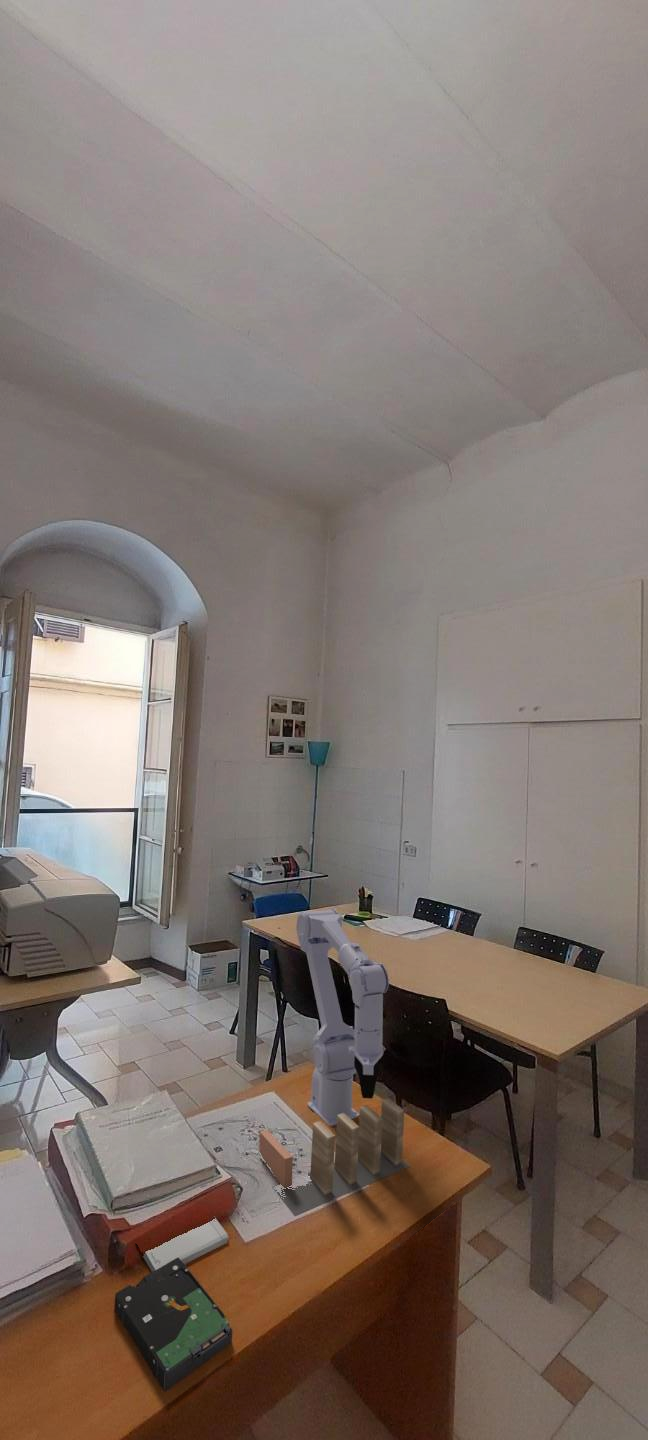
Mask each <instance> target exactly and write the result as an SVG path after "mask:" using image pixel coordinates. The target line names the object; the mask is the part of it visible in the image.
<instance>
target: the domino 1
mask: <svg viewBox="0 0 648 1440" xmlns="http://www.w3.org/2000/svg"><path fill="white" fill-rule="evenodd" d="M258 1147H259V1149H258V1153H259V1152H260V1153H261V1155H262V1157H263V1159H264V1160H265V1161H266V1163H267V1164H268V1166H269V1167H270V1168H271V1171H272V1172H273V1174H274V1175H275V1176H276V1178H277V1179H278V1180H279V1182H280V1183H281V1185H282V1186H283V1187H284V1188H287V1187H289V1186H291V1185H292V1179H293V1161H294V1157H293V1155H292V1154H291V1153H290V1152H289V1151H288V1150H287V1149H286V1148H285V1147H284V1145H283V1144H281V1142H280V1141H279V1140H278V1139H277V1138H276V1137H275V1136H274V1135H273V1134H272V1132H270V1131H269V1130H268V1129H264V1130H261V1131H259V1145H258ZM273 1174H272V1175H273ZM274 1175H273V1176H274ZM276 1178H275V1179H276ZM277 1179H276V1180H277ZM279 1182H278V1183H279ZM280 1183H279V1184H280Z"/></svg>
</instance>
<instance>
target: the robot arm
mask: <svg viewBox="0 0 648 1440" xmlns="http://www.w3.org/2000/svg"><path fill="white" fill-rule="evenodd" d="M295 930H296V934H297V940H298V944H299V946H300V947H299V948H300V951H303V952H304V953H305V954H306V957H307V963H308V967H309V972H310V977H311V978H310V979H311V981H312V987H313V991H314V998H315V1000H316V1002H315V1003H316V1007H317V1011H318V1016H319V1020H320V1021H319V1022H320V1025H321V1027H320V1029H319V1030H318V1031H317V1033H316V1034H315V1035H314V1037H313V1039H312V1048H313V1049H312V1051H313V1053H312V1054H313V1062H314V1063H313V1064H314V1067H315V1068H314V1070H313V1073H312V1077H311V1089H310V1090H311V1093H310V1101H308V1102H307V1106H308V1107H309V1108H310V1110H312V1111H313V1112H314V1113H316V1115H318V1116H319V1118H320V1119H322V1120H323V1121H324V1122H325V1123H326V1124H327V1125H328V1126H329V1127H333V1126H337V1115H339V1114H342V1113H345V1114H346V1115H347V1116H348V1117H349V1118H350V1119H351V1120H353V1119H356V1118H358V1117H359V1118H360V1112H358V1111H357V1110H355V1109H354V1108H353V1105H352V1104H353V1102H352V1101H353V1087H354V1082H353V1081H354V1075H356V1074H357V1076H358V1080H359V1085H360V1086H359V1087H360V1093H361V1097H362V1098H363V1099H371V1100H372V1099H373V1098H374V1095H375V1089H376V1086H377V1085H376V1084H377V1080H378V1076H379V1075H380V1072H381V1070H382V1068H383V1057H382V1056H383V1055H384V1048H383V1024H384V1023H383V1020H384V1019H383V1018H384V1017H383V1015H384V1014H383V1011H384V1008H383V1007H384V1006H383V1004H384V994H385V993H387V991H388V989H389V985H390V983H389V982H390V980H389V974H388V971H387V969H386V968H385V966H384V964H383V963H380V962H378V963H377V962H376V961H373V960H372V959H371V958H370V957H369V956H368V954H367V953H366V952H365V950H363V948H362V947H361V945H360V944H359V943H358V942H357V943H356V942H353V941H352V942H351V940H350V938H349V937H348V935H347V933H346V932H345V931H344V929H343V921H342V915H341V914H340V913H339V911H338V910H337V909H335V908H334V909H333V908H331V909H329V910H326V909H325V910H311V911H305V910H304V911H300V913H299V914H298V916H297V920H296V929H295ZM333 948H334V949H335V951H336V952H337V953H338V955H337V961H338V963H339V964H340V966H341V967H342V968H343V971H345V973H346V974H347V975H348V977H349V983H350V989H351V991H352V992H351V993H352V997H351V998H352V1001H353V1003H354V1028H353V1027H352V1026H350V1025H348V1024H346V1023H345V1022H344V1021H343V1016H342V1012H341V1007H340V1003H339V998H338V995H337V989H336V986H335V981H334V978H333V977H334V976H333V972H332V968H331V967H332V966H331V964H330V959H329V955H328V954H329V951H330V950H332V949H333Z"/></svg>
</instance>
